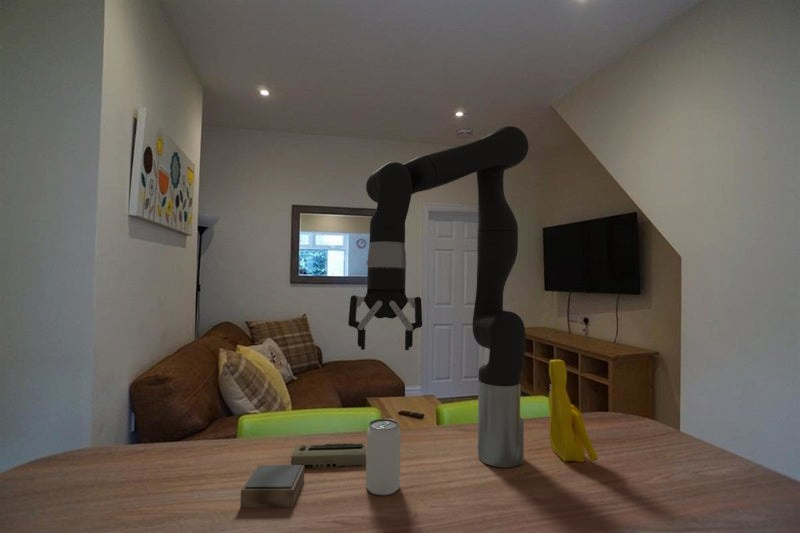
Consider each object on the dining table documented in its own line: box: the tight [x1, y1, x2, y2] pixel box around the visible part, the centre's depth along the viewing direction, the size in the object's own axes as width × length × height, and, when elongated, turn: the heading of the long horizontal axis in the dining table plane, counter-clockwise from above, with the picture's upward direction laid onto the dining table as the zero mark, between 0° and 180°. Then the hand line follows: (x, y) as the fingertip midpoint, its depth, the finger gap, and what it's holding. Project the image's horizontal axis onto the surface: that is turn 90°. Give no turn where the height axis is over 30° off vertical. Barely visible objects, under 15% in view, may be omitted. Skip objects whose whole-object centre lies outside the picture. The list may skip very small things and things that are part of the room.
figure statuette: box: [548, 358, 599, 463], centre depth 88 cm, size 18×8×22 cm, turn 4°
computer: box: [290, 442, 367, 469], centre depth 85 cm, size 16×8×3 cm, turn 97°
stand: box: [239, 464, 305, 509], centre depth 71 cm, size 9×9×3 cm
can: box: [365, 418, 401, 497], centre depth 74 cm, size 6×6×12 cm
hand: (384, 349), depth 75 cm, fingers open, 8 cm apart
